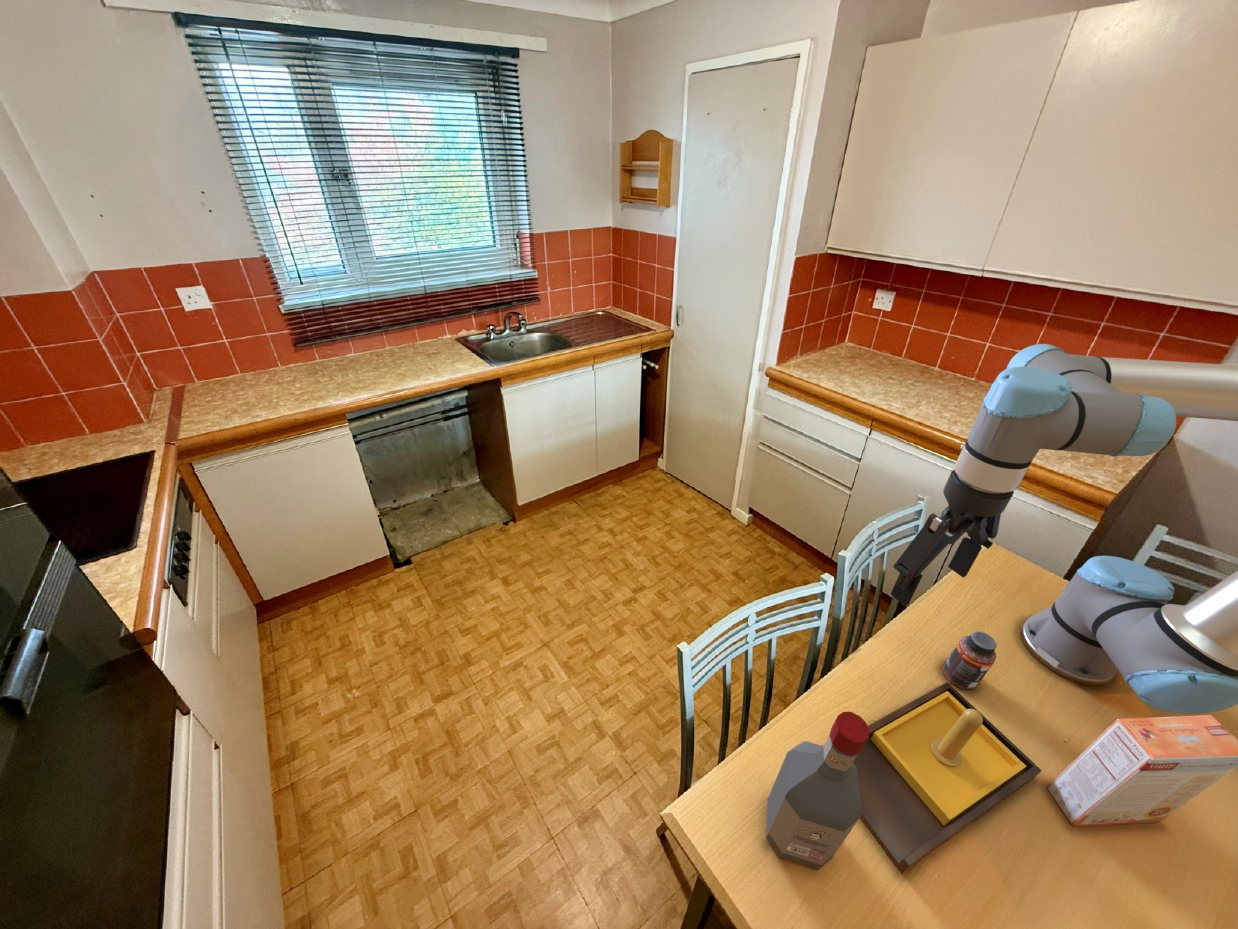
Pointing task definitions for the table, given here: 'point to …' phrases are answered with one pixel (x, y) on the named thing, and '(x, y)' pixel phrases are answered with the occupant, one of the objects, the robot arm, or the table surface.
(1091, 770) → the cracker box
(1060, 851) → the table surface
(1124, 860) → the table surface
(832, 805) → the liquor
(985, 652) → the supplement bottle
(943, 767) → the tray
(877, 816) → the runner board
